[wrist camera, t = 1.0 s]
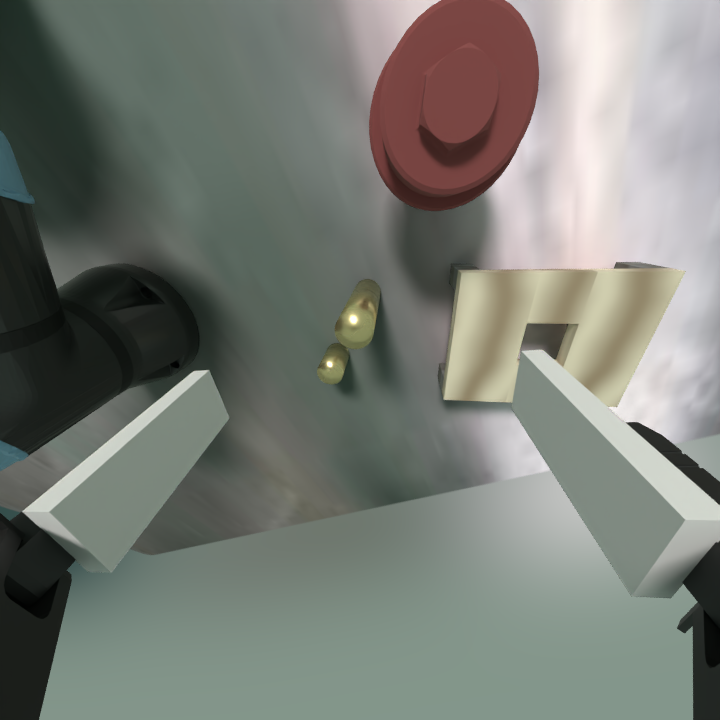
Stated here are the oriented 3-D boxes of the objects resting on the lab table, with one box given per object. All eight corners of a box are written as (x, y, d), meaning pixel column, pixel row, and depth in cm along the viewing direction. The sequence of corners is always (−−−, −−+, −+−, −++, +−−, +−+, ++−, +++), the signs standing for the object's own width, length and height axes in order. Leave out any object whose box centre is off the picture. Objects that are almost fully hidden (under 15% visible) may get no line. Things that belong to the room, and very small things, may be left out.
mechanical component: (472, 42, 22) (501, 179, 25) (358, 117, 24) (400, 230, 28) (551, -132, 11) (582, 152, 14) (329, 40, 14) (403, 239, 17)
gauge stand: (437, 376, 36) (443, 399, 31) (451, 264, 29) (461, 273, 25) (587, 381, 34) (616, 406, 29) (638, 262, 27) (685, 271, 23)
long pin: (355, 305, 32) (336, 348, 22) (354, 279, 31) (333, 312, 20) (380, 305, 32) (373, 349, 22) (380, 279, 31) (373, 312, 20)
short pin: (327, 363, 37) (318, 383, 32) (325, 343, 35) (315, 361, 31) (349, 364, 36) (343, 384, 32) (348, 343, 35) (342, 362, 30)
